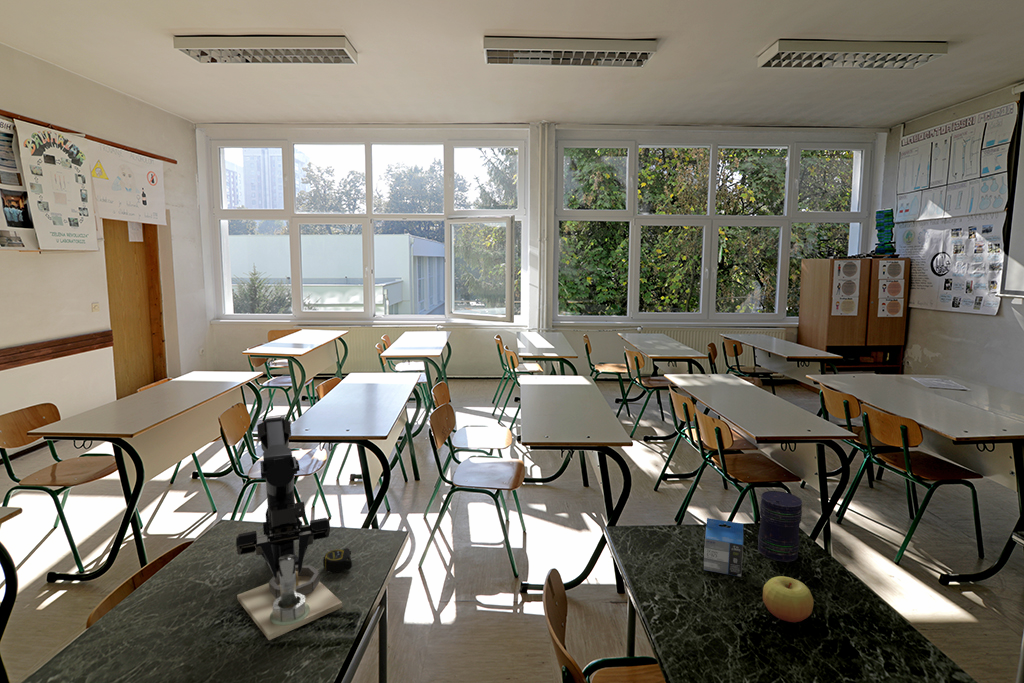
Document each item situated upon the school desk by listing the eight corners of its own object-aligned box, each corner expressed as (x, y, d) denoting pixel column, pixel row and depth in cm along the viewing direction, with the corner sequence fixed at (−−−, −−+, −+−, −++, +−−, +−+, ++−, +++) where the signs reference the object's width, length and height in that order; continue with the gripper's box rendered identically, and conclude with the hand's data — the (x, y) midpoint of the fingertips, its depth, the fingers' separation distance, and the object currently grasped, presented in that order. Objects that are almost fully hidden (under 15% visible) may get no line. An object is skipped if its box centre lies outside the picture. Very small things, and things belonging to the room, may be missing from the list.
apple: (791, 634, 116) (794, 599, 115) (751, 609, 124) (754, 575, 123) (821, 620, 120) (824, 586, 119) (781, 596, 129) (783, 564, 128)
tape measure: (352, 573, 139) (352, 559, 138) (323, 578, 137) (322, 563, 136) (351, 559, 145) (351, 545, 145) (323, 563, 143) (323, 549, 143)
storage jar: (765, 538, 156) (769, 487, 153) (803, 551, 149) (808, 498, 147) (751, 552, 148) (755, 498, 146) (790, 566, 142) (795, 510, 140)
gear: (267, 615, 120) (263, 561, 118) (292, 600, 125) (288, 547, 123) (287, 625, 116) (283, 569, 115) (312, 609, 122) (309, 555, 120)
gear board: (237, 599, 128) (236, 581, 127) (306, 572, 139) (305, 555, 138) (268, 640, 114) (267, 620, 113) (342, 607, 125) (341, 588, 124)
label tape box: (703, 570, 140) (705, 524, 138) (704, 562, 144) (706, 517, 142) (741, 578, 136) (744, 530, 135) (741, 569, 140) (744, 523, 138)
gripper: (233, 498, 117) (236, 574, 108) (327, 483, 124) (336, 553, 116) (236, 518, 125) (239, 590, 116) (324, 503, 133) (332, 569, 124)
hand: (287, 575), depth 118 cm, fingers open, 4 cm apart
